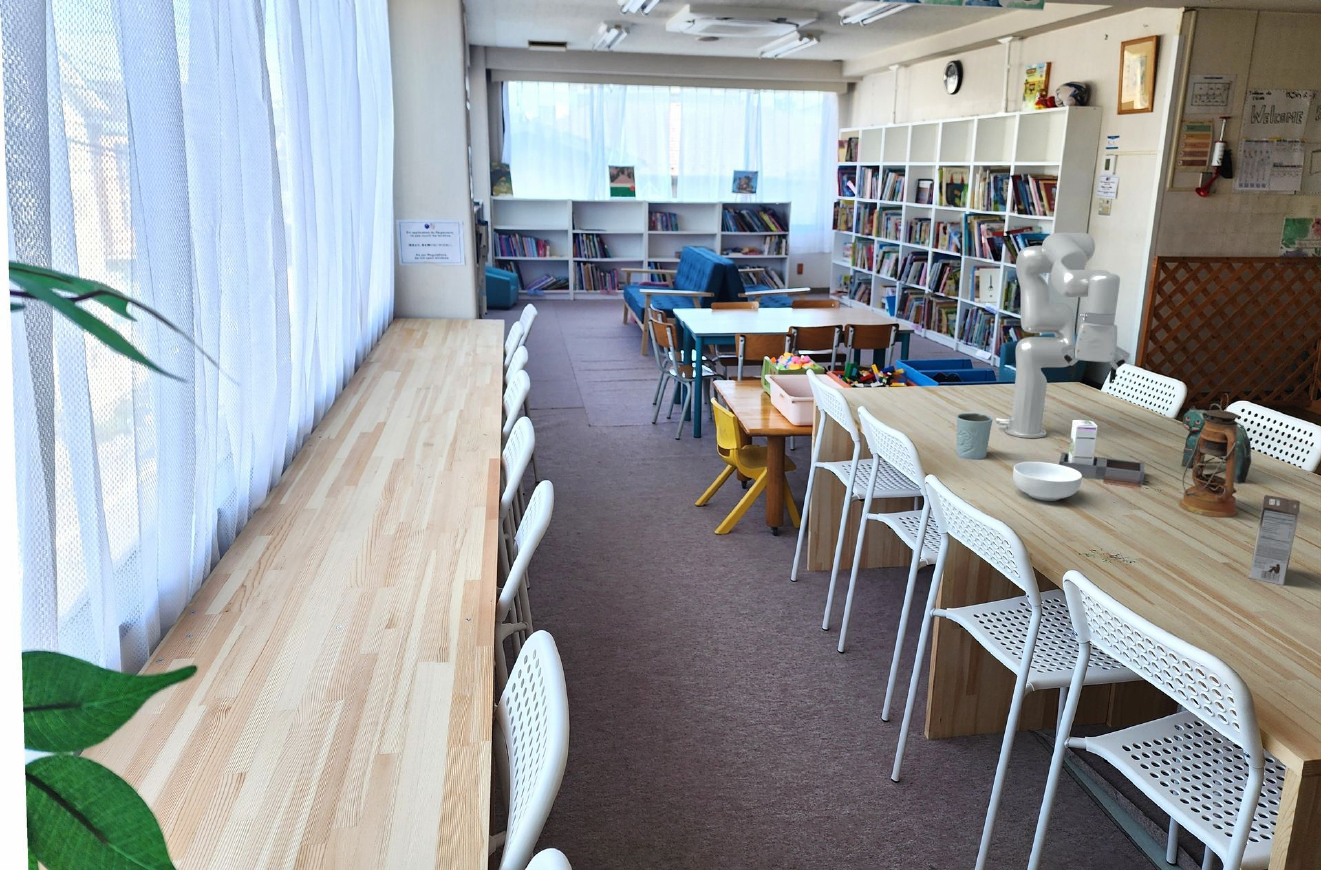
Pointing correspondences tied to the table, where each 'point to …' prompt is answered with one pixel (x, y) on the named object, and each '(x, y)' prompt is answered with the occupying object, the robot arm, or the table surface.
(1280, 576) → the coffee box
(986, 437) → the embossed ceramic cup
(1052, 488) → the cereal bowl
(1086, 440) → the syrup box
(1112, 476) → the holder
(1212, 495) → the lantern
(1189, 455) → the ceramic cat
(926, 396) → the table surface
